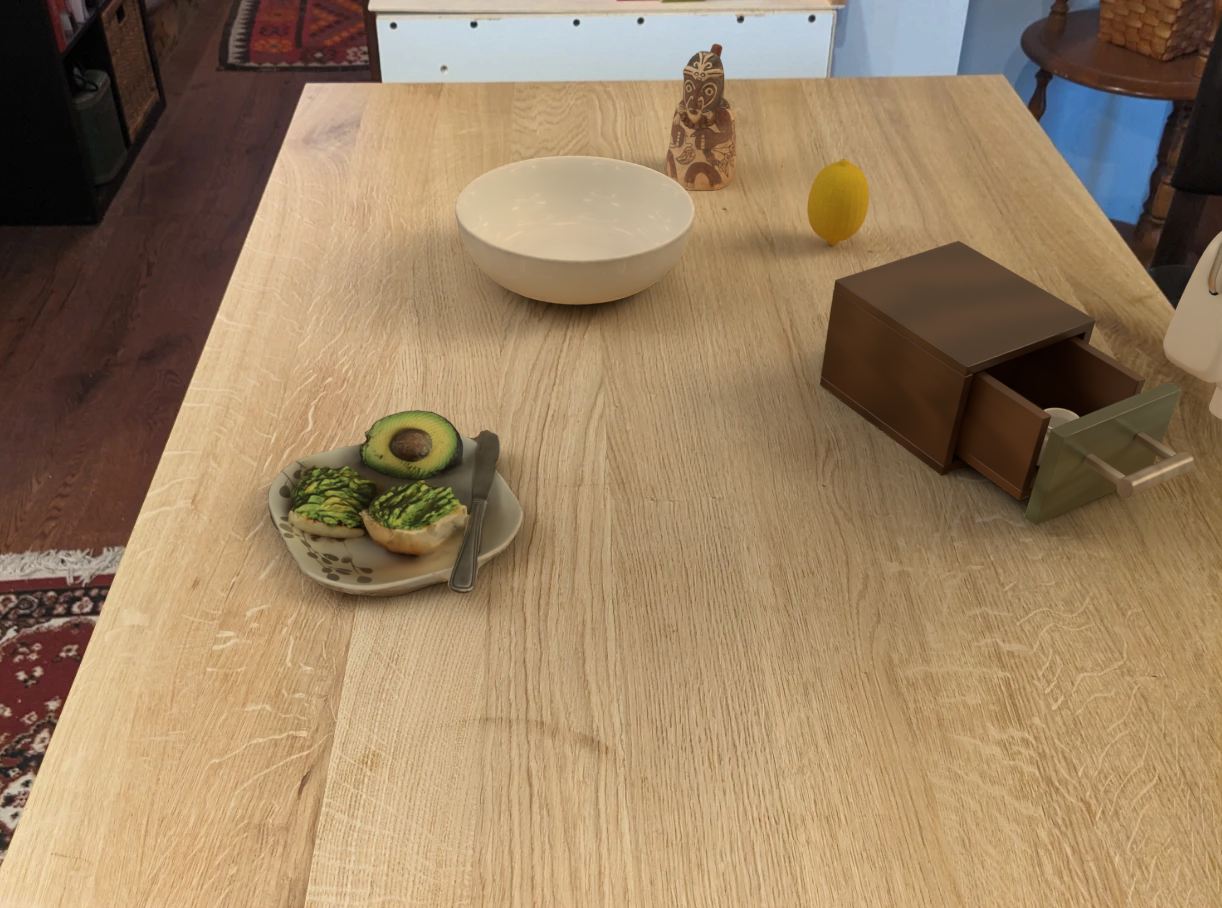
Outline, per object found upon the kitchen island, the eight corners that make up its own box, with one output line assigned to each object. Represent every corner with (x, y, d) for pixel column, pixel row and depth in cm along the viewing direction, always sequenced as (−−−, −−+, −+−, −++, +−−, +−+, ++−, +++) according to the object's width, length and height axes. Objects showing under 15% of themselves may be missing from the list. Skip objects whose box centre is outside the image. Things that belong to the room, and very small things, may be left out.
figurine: (652, 179, 130) (656, 53, 122) (689, 155, 134) (695, 32, 126) (712, 196, 128) (721, 69, 119) (747, 172, 132) (758, 47, 123)
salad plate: (580, 580, 87) (580, 525, 83) (323, 651, 82) (312, 596, 78) (483, 431, 99) (479, 378, 95) (255, 485, 94) (242, 432, 91)
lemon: (845, 227, 123) (858, 143, 117) (871, 253, 119) (886, 168, 114) (793, 236, 122) (803, 151, 116) (817, 262, 118) (829, 176, 112)
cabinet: (1063, 426, 100) (1096, 319, 93) (941, 475, 95) (967, 366, 88) (936, 343, 108) (958, 240, 102) (819, 384, 104) (834, 279, 97)
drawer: (1198, 508, 91) (1235, 420, 86) (1083, 560, 87) (1115, 471, 81) (1017, 390, 101) (1041, 305, 96) (908, 432, 97) (926, 346, 92)
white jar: (1098, 455, 93) (1039, 426, 96) (1109, 420, 91) (1050, 392, 94) (1059, 482, 91) (1000, 452, 94) (1070, 447, 89) (1010, 418, 91)
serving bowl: (652, 353, 107) (655, 276, 102) (423, 312, 111) (416, 236, 106) (717, 244, 120) (722, 171, 115) (510, 212, 125) (507, 140, 120)
